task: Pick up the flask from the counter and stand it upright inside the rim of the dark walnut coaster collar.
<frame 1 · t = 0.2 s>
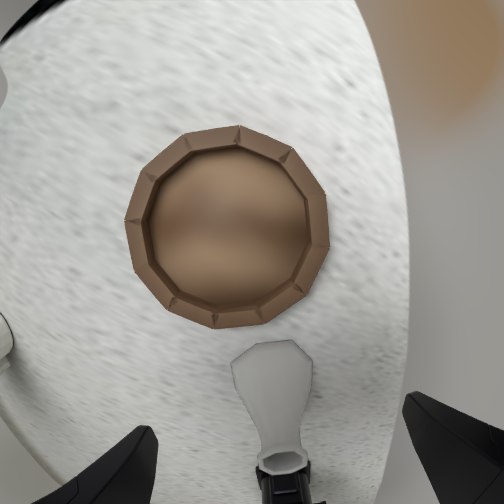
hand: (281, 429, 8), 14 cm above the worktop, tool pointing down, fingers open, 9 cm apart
flask: (272, 371, 24), on the worktop
walnut collar: (227, 227, 21), on the worktop
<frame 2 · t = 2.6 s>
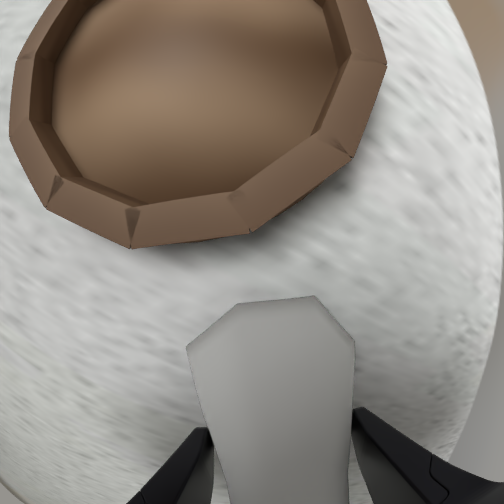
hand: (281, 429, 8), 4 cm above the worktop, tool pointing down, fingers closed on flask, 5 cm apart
flask: (273, 368, 12), on the worktop, touching gripper
walnut collar: (181, 58, 9), on the worktop
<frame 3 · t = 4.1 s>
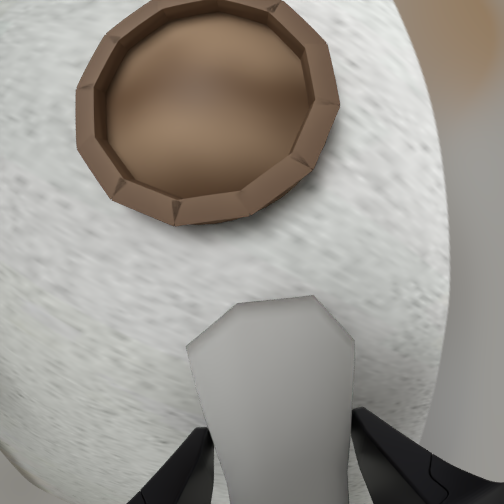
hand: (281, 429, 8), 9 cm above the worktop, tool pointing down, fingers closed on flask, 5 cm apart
flask: (273, 367, 12), point 5 cm above the worktop, touching gripper
walnut collar: (202, 97, 14), on the worktop
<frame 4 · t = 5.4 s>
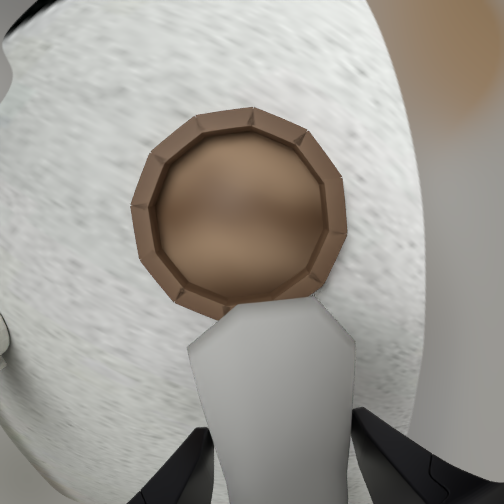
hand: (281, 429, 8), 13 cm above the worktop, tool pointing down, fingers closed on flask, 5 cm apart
flask: (274, 368, 12), point 9 cm above the worktop, touching gripper
walnut collar: (239, 214, 20), on the worktop
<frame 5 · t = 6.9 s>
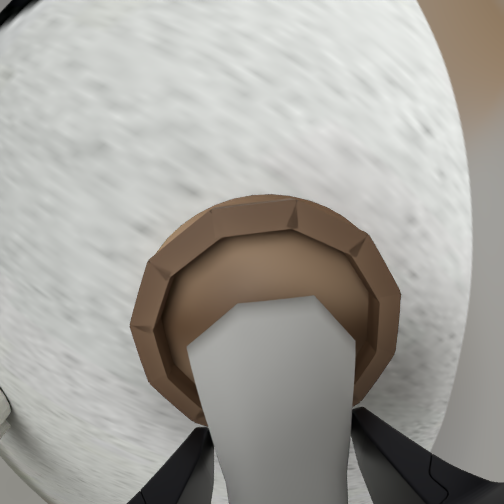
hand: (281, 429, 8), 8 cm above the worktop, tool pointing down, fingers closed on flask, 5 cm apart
flask: (274, 368, 12), point 4 cm above the worktop, touching gripper
walnut collar: (267, 325, 15), on the worktop
when the fingers open (6 cm above the worktop, at t = 8.1 s): flask drops 2 cm, resting on walnut collar.
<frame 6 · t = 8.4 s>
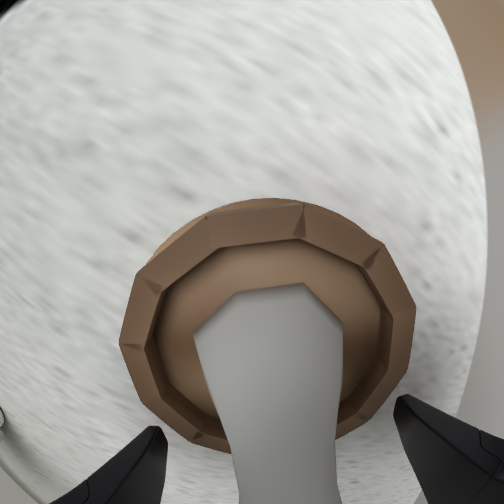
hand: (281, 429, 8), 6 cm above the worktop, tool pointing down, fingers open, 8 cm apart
flask: (271, 350, 13), point 1 cm above the worktop, touching walnut collar
walnut collar: (269, 342, 14), on the worktop
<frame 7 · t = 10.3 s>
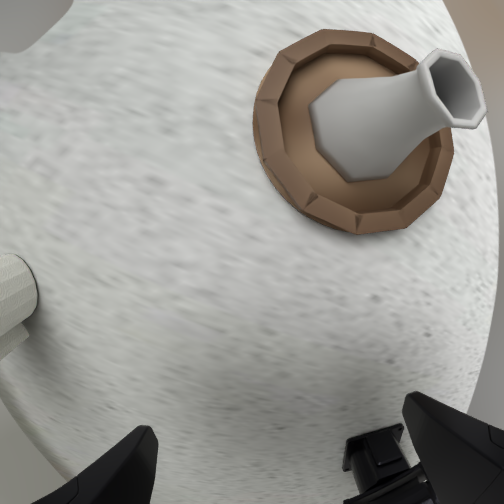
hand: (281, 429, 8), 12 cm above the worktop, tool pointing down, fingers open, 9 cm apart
flask: (360, 129, 17), point 1 cm above the worktop, touching walnut collar
walnut collar: (356, 129, 17), on the worktop
paper towel roll: (17, 288, 20), on the worktop
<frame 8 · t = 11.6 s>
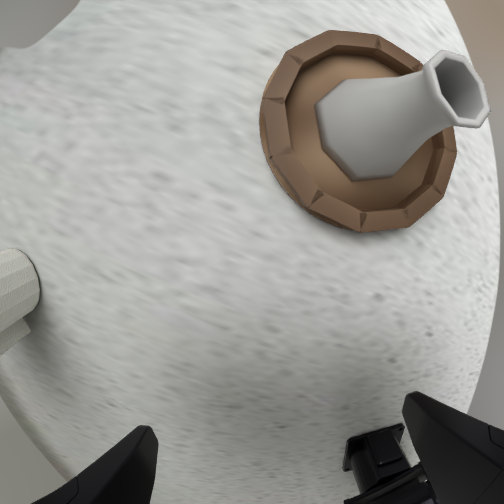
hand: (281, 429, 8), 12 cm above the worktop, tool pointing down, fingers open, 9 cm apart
flask: (365, 129, 17), point 1 cm above the worktop, touching walnut collar
walnut collar: (361, 129, 17), on the worktop
paper towel roll: (19, 284, 20), on the worktop
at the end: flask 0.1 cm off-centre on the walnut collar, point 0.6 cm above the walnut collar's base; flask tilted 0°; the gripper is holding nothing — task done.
